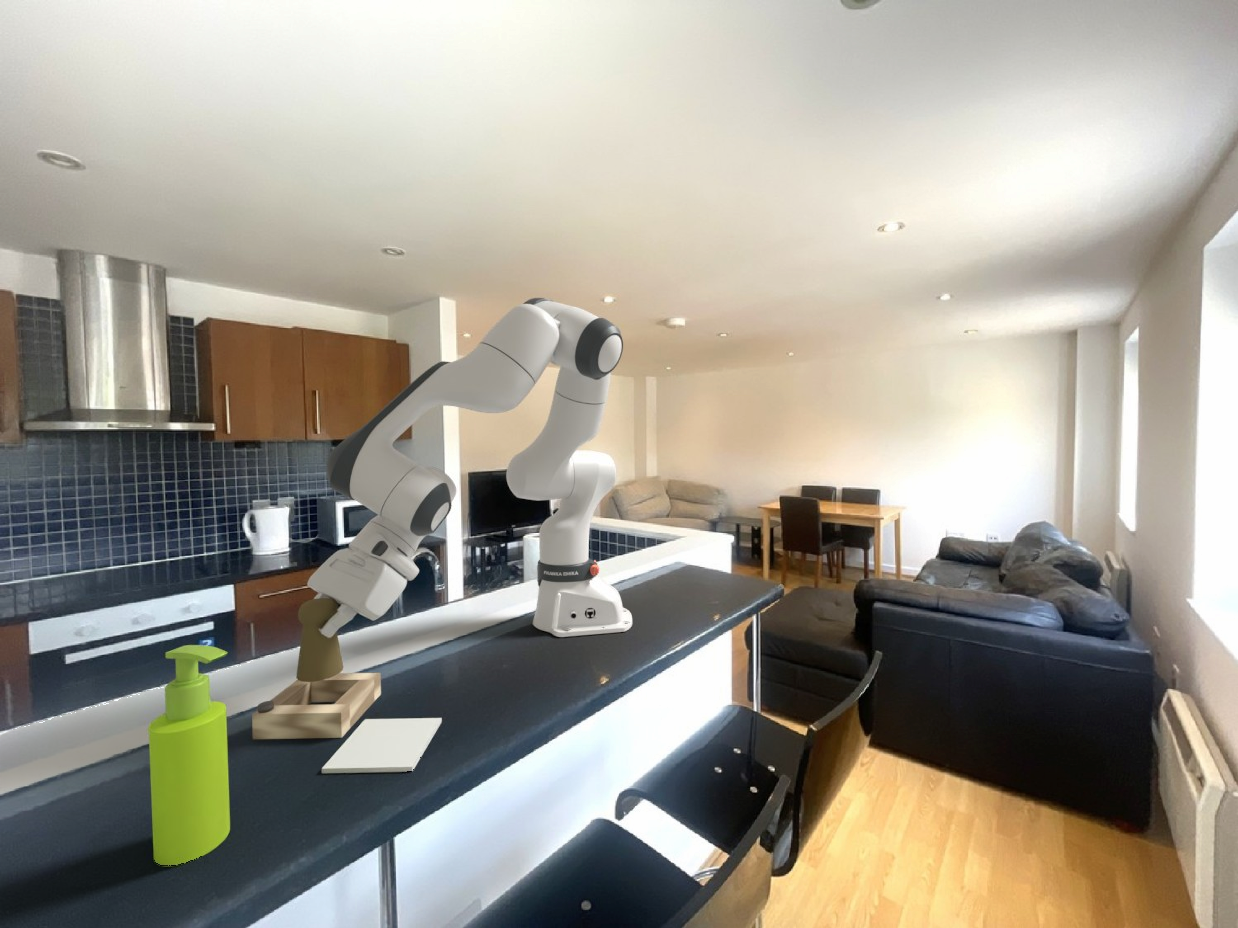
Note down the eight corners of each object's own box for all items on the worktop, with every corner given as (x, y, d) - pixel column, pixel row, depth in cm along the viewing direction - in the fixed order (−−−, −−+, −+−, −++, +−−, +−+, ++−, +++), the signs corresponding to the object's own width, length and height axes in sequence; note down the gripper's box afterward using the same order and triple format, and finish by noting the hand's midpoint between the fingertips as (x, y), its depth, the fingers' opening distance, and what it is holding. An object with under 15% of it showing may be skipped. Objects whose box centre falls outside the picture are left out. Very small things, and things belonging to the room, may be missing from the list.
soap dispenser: (195, 873, 47) (187, 664, 46) (137, 860, 48) (129, 657, 47) (252, 826, 53) (246, 639, 52) (199, 816, 54) (193, 634, 53)
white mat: (441, 721, 72) (441, 717, 72) (412, 771, 61) (412, 766, 61) (365, 723, 72) (364, 719, 72) (321, 773, 61) (321, 768, 61)
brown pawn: (286, 677, 73) (284, 603, 72) (323, 660, 79) (322, 591, 78) (316, 685, 71) (314, 609, 70) (352, 666, 77) (350, 596, 76)
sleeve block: (380, 693, 81) (380, 667, 80) (341, 737, 69) (340, 706, 68) (305, 695, 80) (304, 668, 80) (252, 739, 68) (251, 708, 68)
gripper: (337, 532, 86) (272, 603, 79) (396, 550, 73) (325, 636, 66) (364, 553, 89) (305, 622, 82) (425, 574, 77) (361, 658, 70)
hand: (314, 629), depth 74 cm, fingers closed on brown pawn, 5 cm apart
